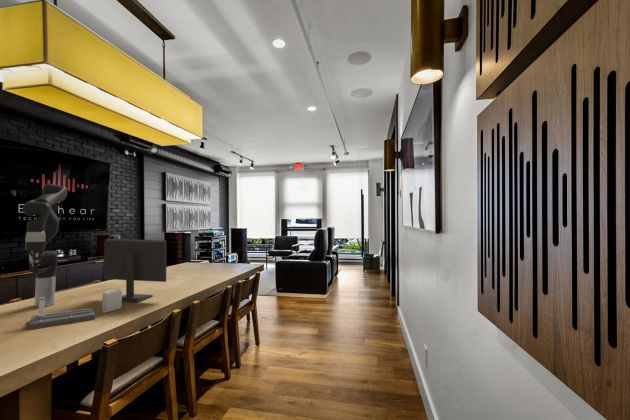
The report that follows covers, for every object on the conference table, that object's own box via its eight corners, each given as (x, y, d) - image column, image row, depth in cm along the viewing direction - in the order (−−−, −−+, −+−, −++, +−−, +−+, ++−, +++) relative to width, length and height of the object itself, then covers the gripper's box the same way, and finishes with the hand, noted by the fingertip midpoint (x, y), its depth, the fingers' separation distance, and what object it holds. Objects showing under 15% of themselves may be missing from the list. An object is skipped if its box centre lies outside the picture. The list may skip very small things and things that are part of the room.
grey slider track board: (31, 320, 161) (31, 313, 161) (92, 311, 177) (92, 305, 177) (29, 329, 148) (29, 322, 148) (94, 319, 165) (95, 312, 165)
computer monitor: (170, 297, 213) (172, 239, 214) (156, 303, 197) (158, 241, 198) (112, 294, 217) (115, 238, 219) (94, 300, 201) (96, 239, 203)
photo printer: (105, 313, 175) (105, 291, 175) (100, 312, 177) (101, 290, 177) (122, 308, 184) (123, 288, 185) (118, 307, 186) (119, 287, 186)
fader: (37, 317, 158) (38, 297, 158) (45, 316, 160) (46, 296, 160) (37, 319, 154) (38, 299, 155) (44, 318, 156) (45, 298, 157)
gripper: (47, 241, 155) (46, 273, 154) (42, 239, 164) (41, 270, 164) (27, 241, 149) (25, 275, 149) (23, 240, 159) (22, 271, 158)
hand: (34, 272), depth 156 cm, fingers open, 8 cm apart
